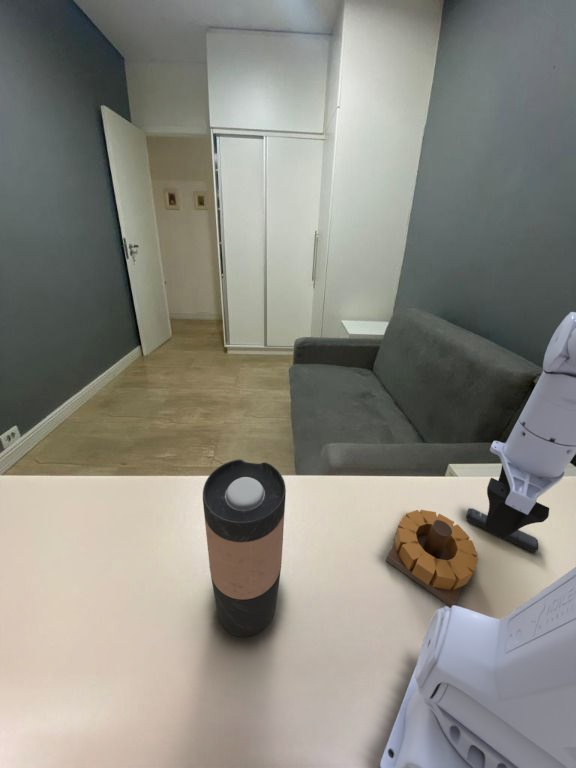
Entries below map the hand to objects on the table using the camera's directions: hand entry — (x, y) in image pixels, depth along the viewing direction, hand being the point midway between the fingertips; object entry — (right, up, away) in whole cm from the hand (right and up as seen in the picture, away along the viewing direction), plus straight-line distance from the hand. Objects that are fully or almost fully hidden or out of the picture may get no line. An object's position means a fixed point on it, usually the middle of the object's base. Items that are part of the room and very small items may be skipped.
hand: (500, 512), depth 40 cm
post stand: (-8, -8, +4) cm, 12 cm away
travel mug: (-33, -10, -2) cm, 34 cm away
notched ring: (-7, -7, +4) cm, 11 cm away
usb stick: (+5, -7, +8) cm, 12 cm away
